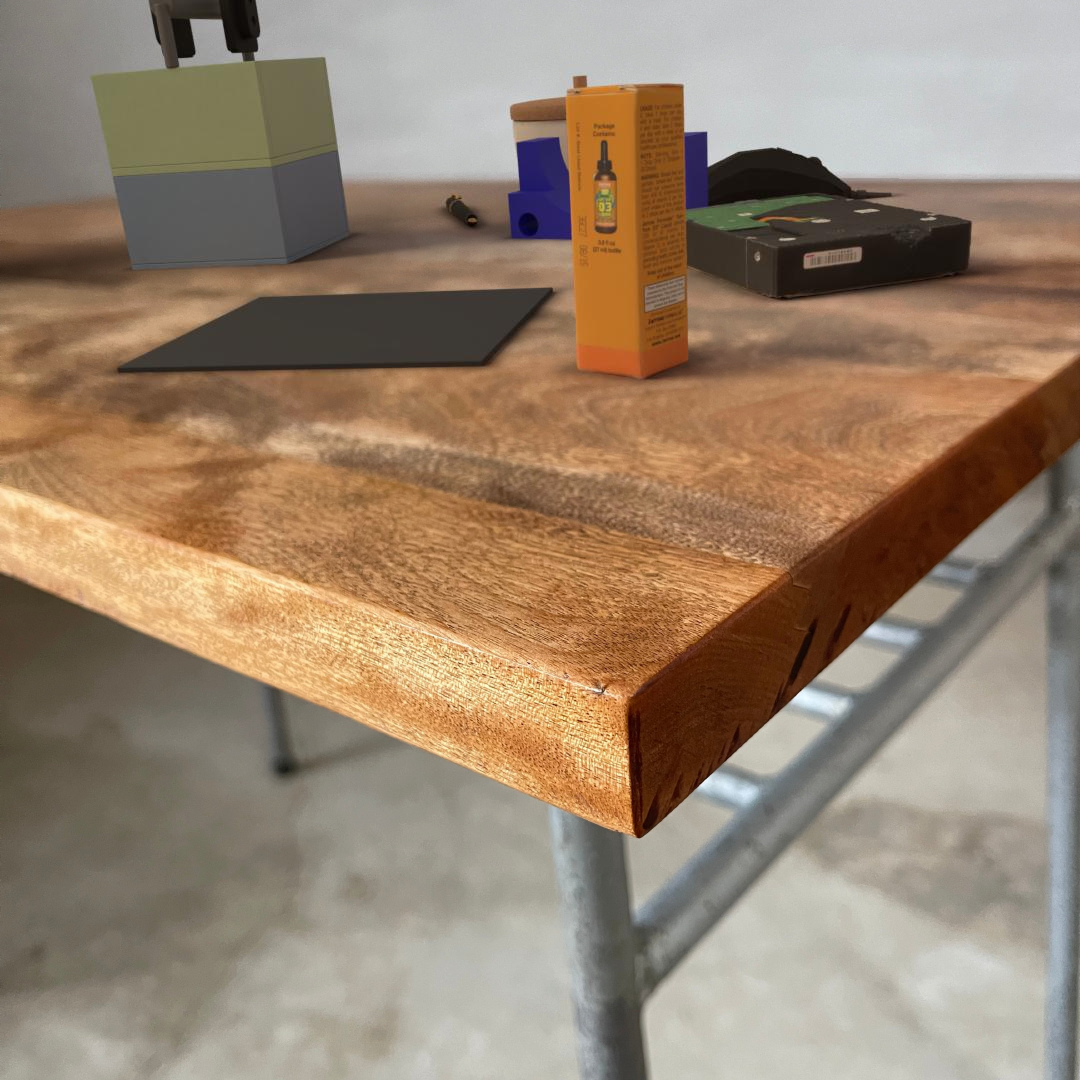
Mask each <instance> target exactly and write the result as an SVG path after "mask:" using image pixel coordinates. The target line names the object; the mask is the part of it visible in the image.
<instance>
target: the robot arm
mask: <svg viewBox="0 0 1080 1080" xmlns="http://www.w3.org/2000/svg"><path fill="white" fill-rule="evenodd" d="M219 5H220V11H221V17H222V20H221V23H222V28H223V34H224V40H225V46H226V50H227V51H228V52H230V53H231V54H242V53H251V52H254V53H258V52H259V42H258V38H260V37H261V25H260V19H259V13H258V6H257V0H219ZM149 10H150V15H151V21H152V25H153V31H154V36H155V39H156V42H157V43H158V45H159V46H160V49H161V52H162V56H163V57H164V55H163V50H162V45H161V39H160V34H159V29H158V24H157V19H156V15H154V14H153V12H152V11H151V9H150V8H149ZM171 23H172V29H173V34H174V39H175V45H176V50H177V55H178V59H190V58H191V59H192V58H194V57H195V55H196V53H197V52H196V51H197V50H196V46H195V40H194V34H193V28H192V23H191V19H171Z"/></svg>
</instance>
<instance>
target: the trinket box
mask: <svg viewBox="0 0 1080 1080" xmlns="http://www.w3.org/2000/svg"><path fill="white" fill-rule="evenodd" d="M572 85H573V88H584V87H588V75H585V74H584V75H574V76H572ZM573 88H572V89H573ZM509 114H510V115H509V116H510V120H511V121H512V132H513V141H514V148H515V154H516V155H517V147H516V142H520V141H525V140H530V139H535V138H545V137H559V140H560V147H561V152H562V156H563V159H564V162H565V164H566V167H567V169H568V171H569V157H568V137H567V119H566V96H559V97H551V98H541V99H534V100H528V101H523V102H517V103H514V104H511V105H510V106H509Z"/></svg>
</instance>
